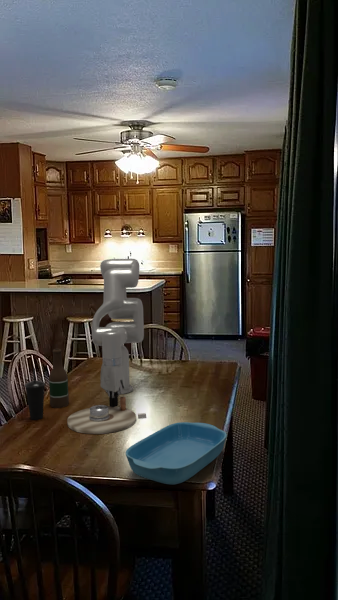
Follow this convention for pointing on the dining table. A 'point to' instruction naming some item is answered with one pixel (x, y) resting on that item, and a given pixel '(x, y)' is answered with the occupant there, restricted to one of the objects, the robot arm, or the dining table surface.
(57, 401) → the beer bottle
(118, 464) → the dining table surface
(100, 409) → the cover
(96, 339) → the robot arm
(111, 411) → the turntable
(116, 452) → the dining table surface
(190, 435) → the casserole dish
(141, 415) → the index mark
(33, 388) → the drinking cup
